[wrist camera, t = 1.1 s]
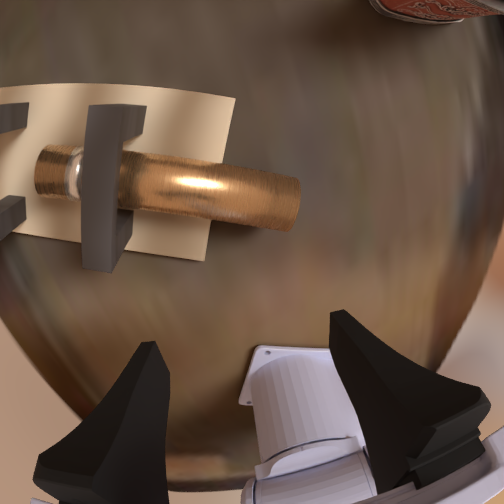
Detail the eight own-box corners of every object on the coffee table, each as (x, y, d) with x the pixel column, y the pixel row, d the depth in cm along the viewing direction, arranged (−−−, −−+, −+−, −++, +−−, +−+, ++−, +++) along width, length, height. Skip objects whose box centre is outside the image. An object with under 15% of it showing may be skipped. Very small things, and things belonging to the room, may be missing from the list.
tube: (291, 172, 17) (305, 185, 15) (278, 220, 19) (289, 241, 16) (59, 140, 15) (34, 149, 12) (57, 188, 16) (34, 204, 13)
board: (234, 98, 16) (242, 96, 11) (204, 256, 20) (202, 305, 15) (-18, 90, 12) (-67, 97, 8) (-18, 222, 17) (-58, 253, 12)
